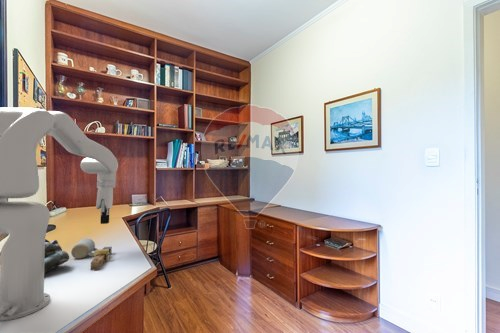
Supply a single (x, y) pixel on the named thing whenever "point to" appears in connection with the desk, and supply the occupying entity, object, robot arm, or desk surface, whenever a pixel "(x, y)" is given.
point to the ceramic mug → (83, 248)
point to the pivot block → (109, 249)
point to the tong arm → (100, 261)
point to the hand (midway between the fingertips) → (104, 223)
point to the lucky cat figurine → (54, 255)
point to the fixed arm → (94, 262)
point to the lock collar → (102, 251)
